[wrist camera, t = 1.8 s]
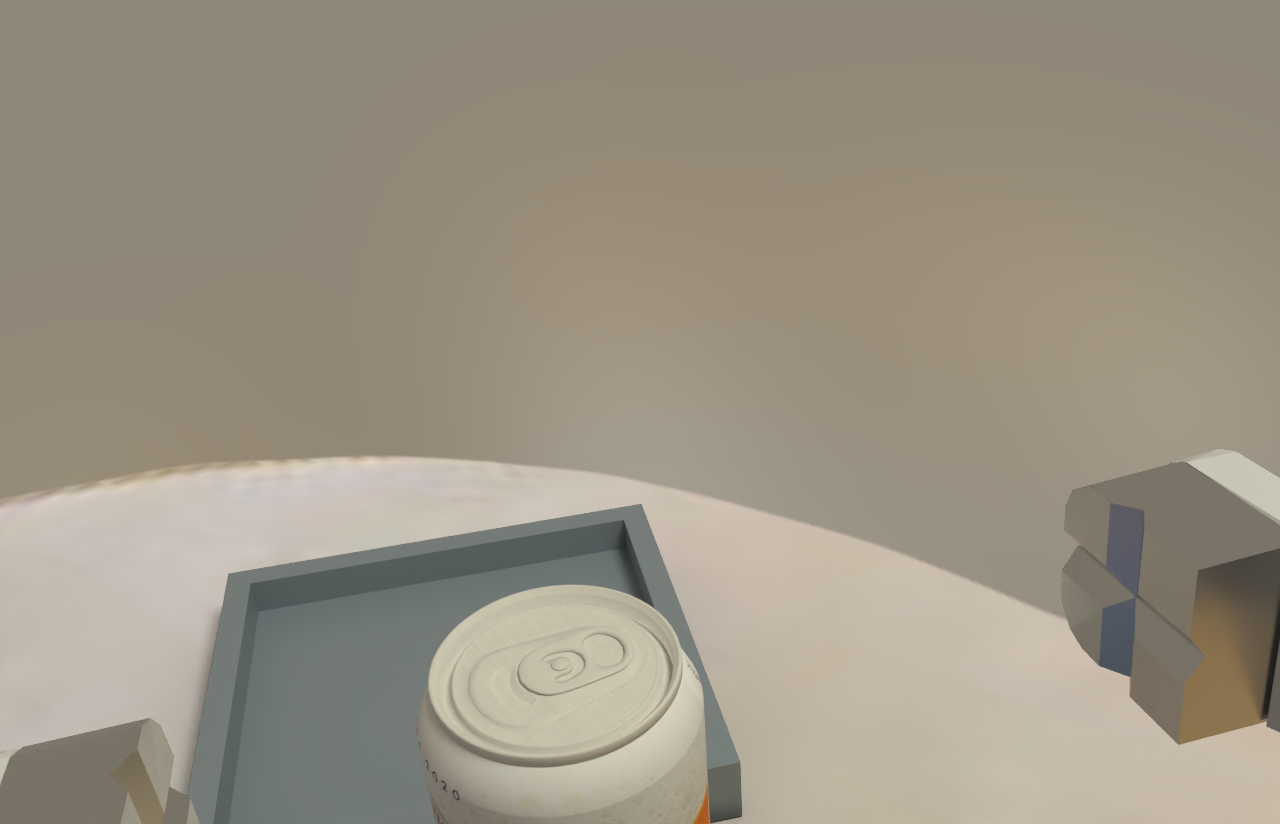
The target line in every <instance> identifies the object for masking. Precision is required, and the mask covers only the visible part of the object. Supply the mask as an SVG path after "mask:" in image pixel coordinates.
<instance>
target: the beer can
mask: <svg viewBox="0 0 1280 824" xmlns="http://www.w3.org/2000/svg"><path fill="white" fill-rule="evenodd" d="M417 738H418V743H419V748H420V753H421V757H422V762H423V767H424V771H425V776H426V781H427V785H428V790H429V794H430V799H431V804H432V808H433V813H434V818H435V822H436V824H710V816H709V796H708V777H707V757H706V737H705V717H704V697H703V690H702V684H701V681H700V678H699V675H698V673H697V671H696V669H695V667H694V665H693V663H692V662H691V660H690V659H689V658H688V656H687V655H686V654H685V652H684V651H683V650H682V648H681V646H680V643H679V640H678V637H677V635H676V633H675V632H674V630H673V628H672V626H671V625H670V624H669V622H668V621H667V620H666V619H665V618H664V617H663V616H662V615H661V614H660V613H659V612H658V611H657V610H655V609H654V608H653V607H651V606H650V605H648V604H647V603H645V602H643V601H642V600H640V599H638V598H635V597H633V596H631V595H629V594H626V593H623V592H620V591H616V590H612V589H608V588H603V587H597V586H589V585H555V586H547V587H540V588H535V589H530V590H526V591H522V592H519V593H515V594H512V595H510V596H507V597H504V598H501V599H499V600H497V601H495V602H492V603H490V604H488V605H486V606H485V607H483V608H481V609H479V610H478V611H476V612H474V613H473V614H471V615H470V616H468V617H467V618H466V619H465V620H463V621H462V622H461V623H460V624H458V625H457V626H456V627H455V628H454V629H453V630H452V631H451V632H450V633H449V634H448V636H447V637H446V638H445V639H444V641H443V642H442V643H441V645H440V646H439V648H438V650H437V651H436V653H435V656H434V658H433V660H432V663H431V666H430V670H429V676H428V686H427V688H426V691H425V694H424V696H423V699H422V701H421V705H420V708H419V711H418V718H417Z"/></svg>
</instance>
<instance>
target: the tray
mask: <svg viewBox="0 0 1280 824" xmlns="http://www.w3.org/2000/svg"><path fill="white" fill-rule="evenodd" d="M555 585H589V586H597V587H603V588H608V589H612V590H616V591H620V592H623V593H626V594H629V595H631V596H633V597H635V598H638V599H640V600H642V601H643V602H645V603H647V604H648V605H650V606H651V607H653V608H654V609H655V610H657V611H658V612H659V613H660V614H661V615H662V616H663V617H664V618H665V619H666V620H667V621H668V622H669V624H670V625H671V626H672V628H673V630H674V632H675V633H676V635H677V637H678V640H679V643H680V646H681V648H682V650H683V651H684V652H685V654H686V655H687V656H688V658H689V659H690V660H691V662H692V663H693V665H694V667H695V669H696V671H697V673H698V675H699V678H700V681H701V684H702V690H703V697H704V717H705V737H706V757H707V777H708V796H709V816H710V823H711V822H716V821H721V820H725V819H730V818H735V817H739V816H742V802H741V769H740V760H739V758H738V755H737V752H736V750H735V747H734V745H733V742H732V739H731V737H730V734H729V732H728V729H727V726H726V724H725V721H724V719H723V716H722V713H721V711H720V708H719V705H718V703H717V700H716V698H715V695H714V692H713V690H712V687H711V685H710V682H709V679H708V677H707V674H706V671H705V669H704V666H703V664H702V661H701V658H700V656H699V653H698V651H697V648H696V645H695V643H694V640H693V638H692V635H691V632H690V630H689V627H688V624H687V622H686V619H685V617H684V614H683V611H682V609H681V606H680V604H679V601H678V598H677V596H676V593H675V591H674V588H673V585H672V583H671V580H670V577H669V575H668V572H667V570H666V567H665V564H664V562H663V559H662V557H661V554H660V551H659V549H658V546H657V544H656V541H655V538H654V536H653V533H652V530H651V528H650V525H649V523H648V520H647V517H646V515H645V512H644V510H643V507H642V504H638V505H632V506H626V507H620V508H615V509H609V510H603V511H597V512H591V513H585V514H579V515H573V516H567V517H561V518H555V519H549V520H543V521H538V522H532V523H526V524H520V525H514V526H508V527H502V528H496V529H490V530H484V531H478V532H472V533H466V534H461V535H455V536H449V537H443V538H437V539H431V540H425V541H419V542H413V543H407V544H401V545H395V546H389V547H384V548H378V549H372V550H366V551H360V552H354V553H348V554H342V555H336V556H330V557H324V558H318V559H312V560H306V561H301V562H295V563H289V564H283V565H277V566H271V567H265V568H259V569H253V570H247V571H241V572H235V573H229V574H228V579H227V585H226V590H225V595H224V601H223V606H222V611H221V617H220V622H219V628H218V633H217V638H216V644H215V649H214V654H213V660H212V665H211V671H210V676H209V681H208V687H207V692H206V697H205V703H204V708H203V713H202V719H201V724H200V730H199V735H198V740H197V746H196V751H195V756H194V762H193V767H192V772H191V778H190V783H189V789H188V794H187V797H189V798H190V799H191V801H192V804H193V807H194V809H195V812H196V815H197V817H198V820H199V823H200V824H436V822H435V818H434V813H433V808H432V804H431V799H430V794H429V790H428V785H427V781H426V776H425V771H424V767H423V762H422V757H421V753H420V748H419V743H418V738H417V718H418V711H419V708H420V705H421V701H422V699H423V696H424V694H425V691H426V688H427V686H428V676H429V670H430V666H431V663H432V660H433V658H434V656H435V653H436V651H437V650H438V648H439V646H440V645H441V643H442V642H443V641H444V639H445V638H446V637H447V636H448V634H449V633H450V632H451V631H452V630H453V629H454V628H455V627H456V626H457V625H458V624H460V623H461V622H462V621H463V620H465V619H466V618H467V617H468V616H470V615H471V614H473V613H474V612H476V611H478V610H479V609H481V608H483V607H485V606H486V605H488V604H490V603H492V602H495V601H497V600H499V599H501V598H504V597H507V596H510V595H512V594H515V593H519V592H522V591H526V590H530V589H535V588H540V587H547V586H555Z"/></svg>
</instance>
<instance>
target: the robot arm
mask: <svg viewBox="0 0 1280 824" xmlns="http://www.w3.org/2000/svg"><path fill="white" fill-rule="evenodd" d="M1064 530H1065V531H1066V533H1067V534H1068V535H1069V536H1070V537H1071V538H1072V540H1073V541H1074V542H1075V543H1076V544H1077V545H1078V546H1077V548H1076V549H1075V551H1074V552H1073V554H1072V556H1071V557H1070V559H1069V560H1068V562H1067V563H1066V565H1065V566H1064V568H1063V569H1062V604H1063V607H1064V610H1065V613H1066V617H1067V620H1068V623H1069V626H1070V629H1071V631H1072V632H1073V634H1074V636H1075V637H1076V639H1077V641H1078V642H1079V644H1080V646H1081V647H1082V649H1083V650H1084V651H1085V652H1086V653H1087V654H1088V655H1089V656H1090V657H1091V658H1092V659H1093V660H1094V661H1095V662H1096V663H1097V664H1098V665H1099V666H1101V667H1104V668H1106V669H1109V670H1112V671H1115V672H1118V673H1120V674H1123V675H1126V676H1129V677H1130V697H1131V698H1132V699H1133V700H1134V701H1135V702H1136V703H1137V704H1138V705H1139V706H1140V707H1141V708H1142V709H1143V710H1144V711H1145V712H1146V713H1147V714H1148V715H1149V716H1150V717H1151V718H1152V719H1153V720H1154V721H1155V722H1156V723H1157V724H1158V725H1159V726H1160V727H1161V728H1162V729H1163V730H1164V731H1165V732H1166V733H1167V734H1168V735H1169V736H1170V737H1171V738H1172V739H1173V740H1174V741H1175V742H1176V743H1177V744H1178V745H1179V744H1183V743H1187V742H1191V741H1194V740H1198V739H1202V738H1206V737H1210V736H1213V735H1217V734H1221V733H1225V732H1228V731H1232V730H1236V729H1240V728H1244V727H1247V726H1251V725H1255V724H1259V723H1263V722H1266V721H1267V725H1266V726H1267V727H1269V728H1271V729H1274V730H1276V731H1278V732H1280V478H1278V477H1277V476H1275V475H1273V474H1272V473H1270V472H1268V471H1267V470H1265V469H1264V468H1262V467H1260V466H1258V465H1257V464H1255V463H1254V462H1252V461H1250V460H1249V459H1247V458H1245V457H1244V456H1242V455H1241V454H1239V453H1237V452H1234V451H1228V450H1221V449H1217V450H1213V451H1210V452H1206V453H1203V454H1199V455H1196V456H1193V457H1189V458H1185V459H1182V460H1178V461H1175V462H1171V463H1170V464H1169V465H1165V466H1162V467H1158V468H1154V469H1150V470H1146V471H1143V472H1139V473H1135V474H1131V475H1127V476H1123V477H1119V478H1116V479H1112V480H1108V481H1104V482H1100V483H1096V484H1093V485H1089V486H1085V487H1081V488H1077V489H1074V490H1072V492H1071V494H1070V497H1069V499H1068V501H1067V504H1066V507H1065V520H1064ZM173 760H174V756H173V753H172V751H171V749H170V747H169V744H168V742H167V740H166V737H165V735H164V733H163V731H162V728H161V726H160V725H159V724H158V723H156V722H155V721H153V720H152V719H150V718H148V719H144V720H139V721H135V722H131V723H126V724H122V725H118V726H113V727H109V728H104V729H100V730H96V731H91V732H87V733H82V734H78V735H74V736H69V737H65V738H61V739H56V740H52V741H47V742H43V743H39V744H34V745H30V746H25V747H22V748H21V749H20V750H14V749H12V750H8V751H4V752H0V824H200V823H199V820H198V817H197V815H196V812H195V809H194V807H193V804H192V801H191V799H190V798H189V797H187V796H185V795H183V794H182V793H180V792H178V791H176V790H174V789H173V788H171V787H169V784H170V778H171V772H172V766H173Z"/></svg>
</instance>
